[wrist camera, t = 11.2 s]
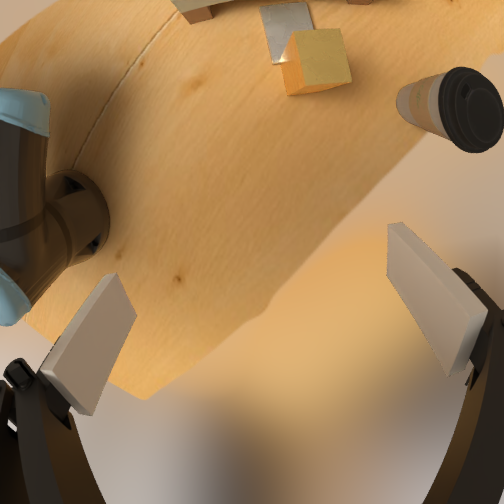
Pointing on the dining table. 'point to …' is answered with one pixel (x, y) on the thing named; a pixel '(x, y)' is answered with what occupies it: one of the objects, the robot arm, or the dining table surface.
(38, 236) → the robot arm
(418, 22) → the dining table surface
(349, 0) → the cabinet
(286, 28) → the blade tool
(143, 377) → the dining table surface
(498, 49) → the dining table surface
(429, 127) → the coffee cup
